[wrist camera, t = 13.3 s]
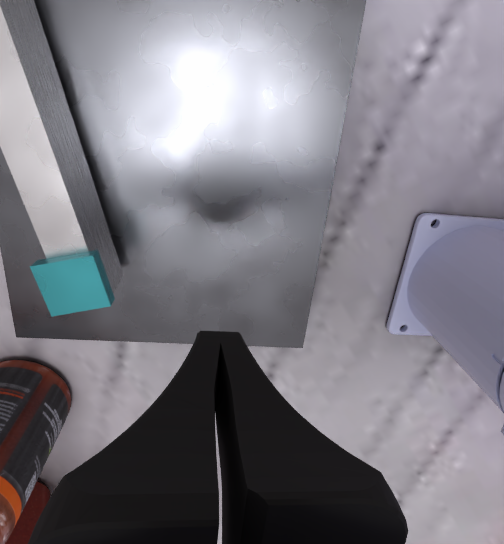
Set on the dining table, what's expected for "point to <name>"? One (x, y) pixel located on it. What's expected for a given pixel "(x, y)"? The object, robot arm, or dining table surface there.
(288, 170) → the tray
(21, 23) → the bar
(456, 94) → the dining table surface
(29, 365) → the supplement bottle
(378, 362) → the dining table surface
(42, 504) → the plant pot
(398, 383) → the dining table surface
